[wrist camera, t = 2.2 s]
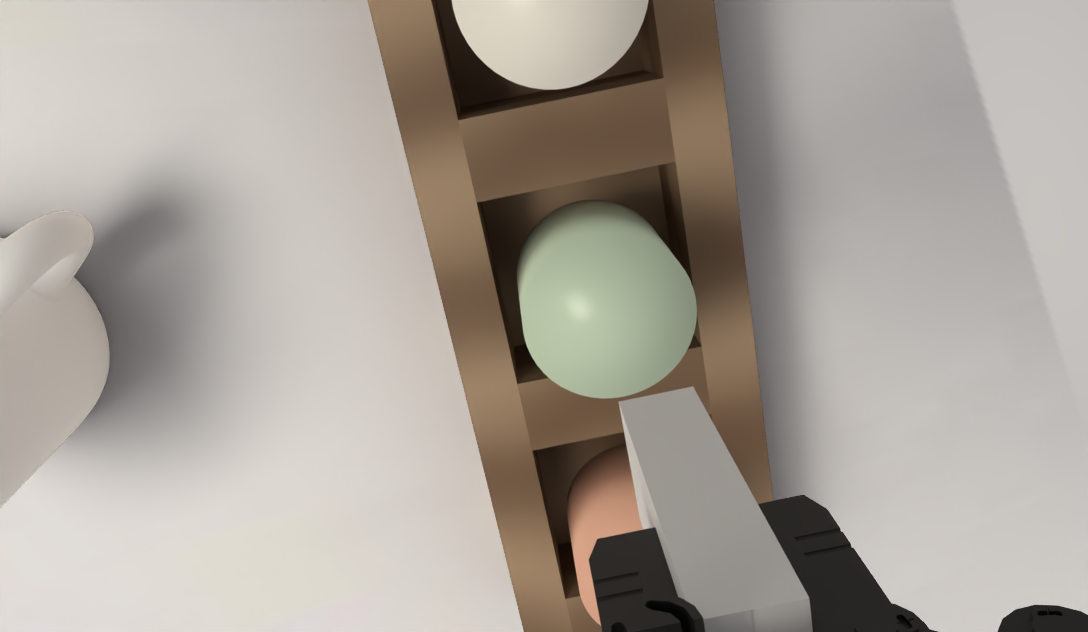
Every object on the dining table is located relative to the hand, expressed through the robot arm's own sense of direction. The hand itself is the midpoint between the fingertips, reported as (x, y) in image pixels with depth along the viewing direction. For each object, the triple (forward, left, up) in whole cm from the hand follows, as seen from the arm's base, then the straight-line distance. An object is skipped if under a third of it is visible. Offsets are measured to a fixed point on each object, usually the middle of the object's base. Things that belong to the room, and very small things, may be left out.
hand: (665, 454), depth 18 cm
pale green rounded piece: (0, 0, -12) cm, 12 cm away
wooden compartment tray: (0, 0, -16) cm, 16 cm away
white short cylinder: (-9, 0, -12) cm, 15 cm away
